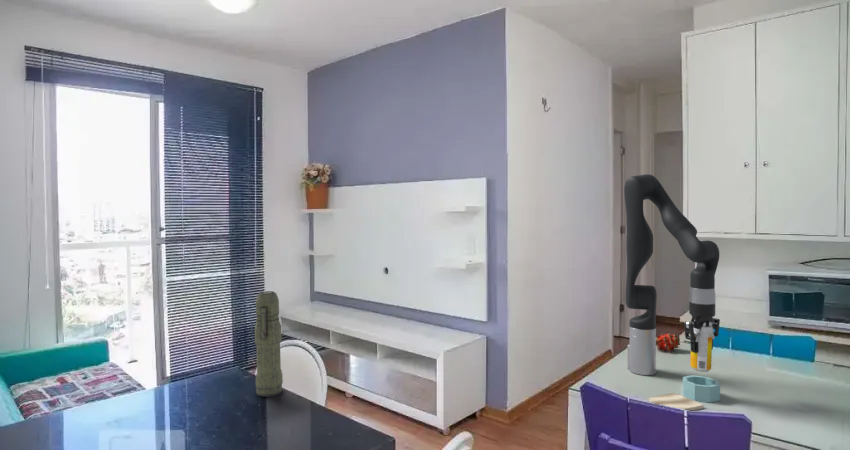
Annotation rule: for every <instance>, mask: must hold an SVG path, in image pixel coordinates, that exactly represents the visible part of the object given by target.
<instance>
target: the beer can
mask: <svg viewBox="0 0 850 450" xmlns="http://www.w3.org/2000/svg"><path fill="white" fill-rule="evenodd" d="M694 331H695V332H699V329H696V328H694ZM695 337H696V334H694V338H695ZM712 353H713V350H712V328H711V326H710V327H708V326H706V327H703V328H702V331H701V336H699V340H698V353H694V352H692V351H691V350H690V360H689V362H690V363H689V364H690V365H689V366H690V367H691V369H692V370H693V371H696V372H701V373H708V372H709V371H711V370H712V357H713V356H712Z"/></svg>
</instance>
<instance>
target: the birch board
mask: <svg viewBox="0 0 850 450" xmlns="http://www.w3.org/2000/svg"><path fill="white" fill-rule="evenodd" d="M648 402H651V403H653V404H655V403H656V404H655V405H657V404H661V405H665V406H670V407H675V408H681V409H685V410H692V411H697V410H701V409H704V408H705V407H704V404H703V403H700V402H699V401H695V400H693V399H690V398H688V397H685V396H684V395H680V394H678V393H676V392H672V393H666V394H661V395H656V396H651V397H648Z"/></svg>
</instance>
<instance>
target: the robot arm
mask: <svg viewBox="0 0 850 450" xmlns="http://www.w3.org/2000/svg"><path fill="white" fill-rule="evenodd" d="M623 187H624V189H623V195H624V204H625V211H626V212H625V214H626V217H625V218H626V241H625V242H626V248H625V249H626V251H625V252H626V278H625V279H626V280H625V297H624V300H625V305H626V307H627V308H628V309H631V310H643V311H645V312H644V313H643V314H640V315H637V316H634V317H631V318H630V319H629V343H628V344H627V370H629V372H630V373H633V374H635V375H636V374H637V375H641V376H653V375H656V373H657V372H656V371H657V368H656V367H657V366H656V365H657V346H656V339H657V325H656V324H657V322H656V319H657V316H656V315H657V299H658V297H657V296H658V295H657V289H656V287H655V286H654V285H645V284H642V285H641V284H636V281H637V278H638V275H640V272H641V271H642V270H643V268H644V266H645V265H646V264H647V263H648V262H649V260H650V259H651V257H652V255H653V253H654V235H653V230H652V229H651V227H650V225H649V223H648V221H647V219H646V217H645V214H644V200H645V201H646V200H649V201H650V202H651V203H653V204H654V206H656V207H657V209H658V211H659V213H660V216H661V217H660V218H661V221H662V223H663V225H664V227H665V228H666V230H667V231H668V232H669V233H670V234H671V236H673V238H674V239H675V240H676V241H677V242H678V244H679V247H680V248H681V250H682V252H683V253H684V256H685V257H687V259H689V260H690V261H692V262H693V263H695V264H696V267H695V268H693V270H691V272H690V282H689V285H690V286H689V292H688V293H689V297H688V298H689V300H688V301H689V303H688V305H689V306H688V307H689V308H688V309H689V310H688V311H689V312H688V313H689V314H690V316H691V319H690V321H684V322H683V326H684V328H683V329H684V336H685V339H686V340H689V341H690V352H691V351H692V352H694V353H698V340H699V336H701V331H702V328H703V327H706V326H708V327H710V326H711V328H712V351H713V349H714V339H715V338H718V337H719V330H720V323H721V319H719V318H715V316H716V289H715V285H716V284H715V282H716V279H715V277H716V276H715V275H716V272H717V268H718V265H719V261H720V248H719V247H718V245H717V243H716V242H714V241H712V240H700V239H699V238H698V236H697V235H698V229H697V227H695V226H694V225H693V224H692V223H691V221H690V220H689V219H688V218H687V217H686V216H685V215H684V214H683V212H681V210H680V209H679V208H678V207H677V206H676V204H675V203H674V201H673V200H672V198H671V197H670V195H669V194H668V193H667V191H666V190H665V188H664V186H663V185H662V184H661V183H660V181H659V180H658V179H657V177H655V176H654V175H653V174H646V173H645V174H640V175H632V176H629V177H628V178H627V179H626V181H625V182H624V186H623ZM694 328H696V329H699V332H695V331H694ZM694 334H696V337H695V338H694Z"/></svg>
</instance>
